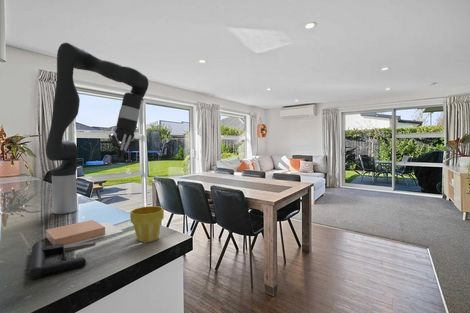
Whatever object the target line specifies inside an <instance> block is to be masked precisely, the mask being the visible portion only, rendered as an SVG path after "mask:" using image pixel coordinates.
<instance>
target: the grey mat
mask: <svg viewBox="0 0 470 313" xmlns="http://www.w3.org/2000/svg"><path fill="white" fill-rule="evenodd" d="M99 224H101V225H102V226H104V227H105V234H103V235H100V236H96V237H92V238H88V239H85V240H81V241H77V242H73V243H70V244H66V245H64V246H69V245H75V244H81V243H87V242H90V241H92V240H96V239H99V238H103V237H104V238H105V237H107V236H112V235H114V234H115V235H116V234H118V233H121V232H123V230H122V229H121V228H119V227H117V226H115V225H113V224H111V223H109V222H108V221H106V222H101V223H99Z"/></svg>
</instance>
